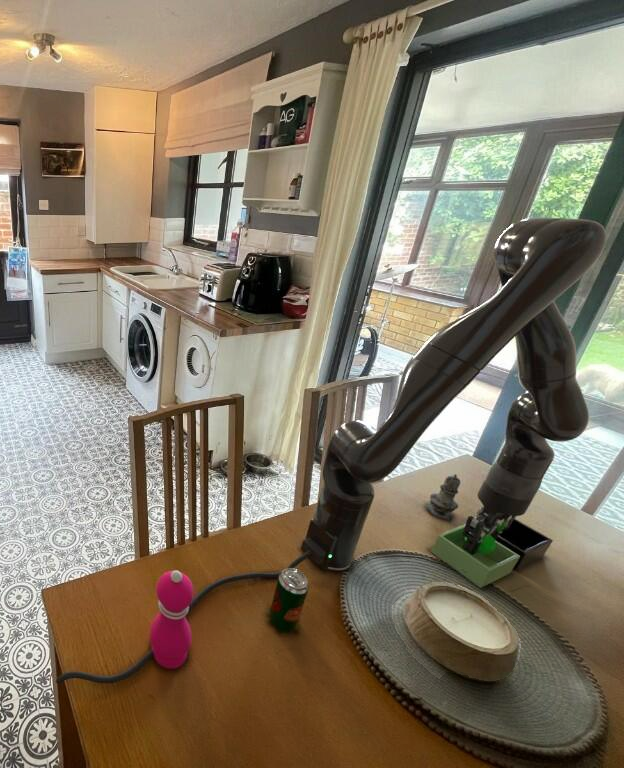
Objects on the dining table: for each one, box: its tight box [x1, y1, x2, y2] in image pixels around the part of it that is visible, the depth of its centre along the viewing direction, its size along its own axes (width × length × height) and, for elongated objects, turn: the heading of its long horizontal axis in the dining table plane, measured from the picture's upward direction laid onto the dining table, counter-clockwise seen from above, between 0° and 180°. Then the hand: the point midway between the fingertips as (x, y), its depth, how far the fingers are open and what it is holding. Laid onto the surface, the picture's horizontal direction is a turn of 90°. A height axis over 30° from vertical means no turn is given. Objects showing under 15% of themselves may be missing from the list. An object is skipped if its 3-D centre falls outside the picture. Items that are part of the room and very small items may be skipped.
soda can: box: [268, 567, 309, 633], centre depth 76 cm, size 5×5×12 cm
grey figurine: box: [426, 474, 462, 520], centre depth 103 cm, size 6×6×12 cm
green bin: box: [430, 523, 520, 589], centre depth 90 cm, size 10×10×5 cm
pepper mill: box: [149, 570, 195, 670], centre depth 69 cm, size 7×7×20 cm
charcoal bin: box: [485, 518, 554, 571], centre depth 94 cm, size 10×10×5 cm
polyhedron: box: [465, 533, 496, 554], centre depth 88 cm, size 5×5×5 cm
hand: (476, 547), depth 89 cm, fingers closed on polyhedron, 5 cm apart
